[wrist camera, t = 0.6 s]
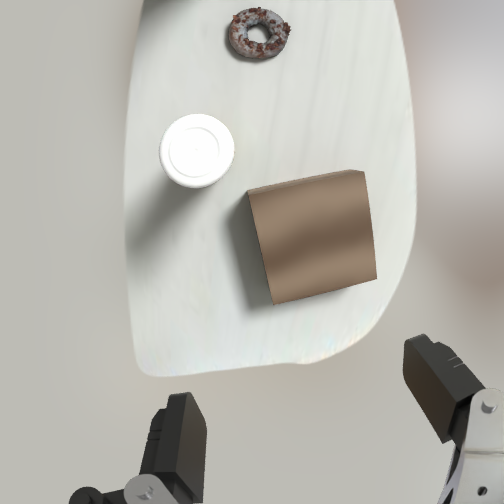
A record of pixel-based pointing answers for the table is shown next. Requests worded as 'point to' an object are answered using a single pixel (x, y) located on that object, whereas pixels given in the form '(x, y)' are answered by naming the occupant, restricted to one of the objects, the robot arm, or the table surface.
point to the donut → (253, 48)
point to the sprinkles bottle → (196, 151)
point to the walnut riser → (314, 234)
